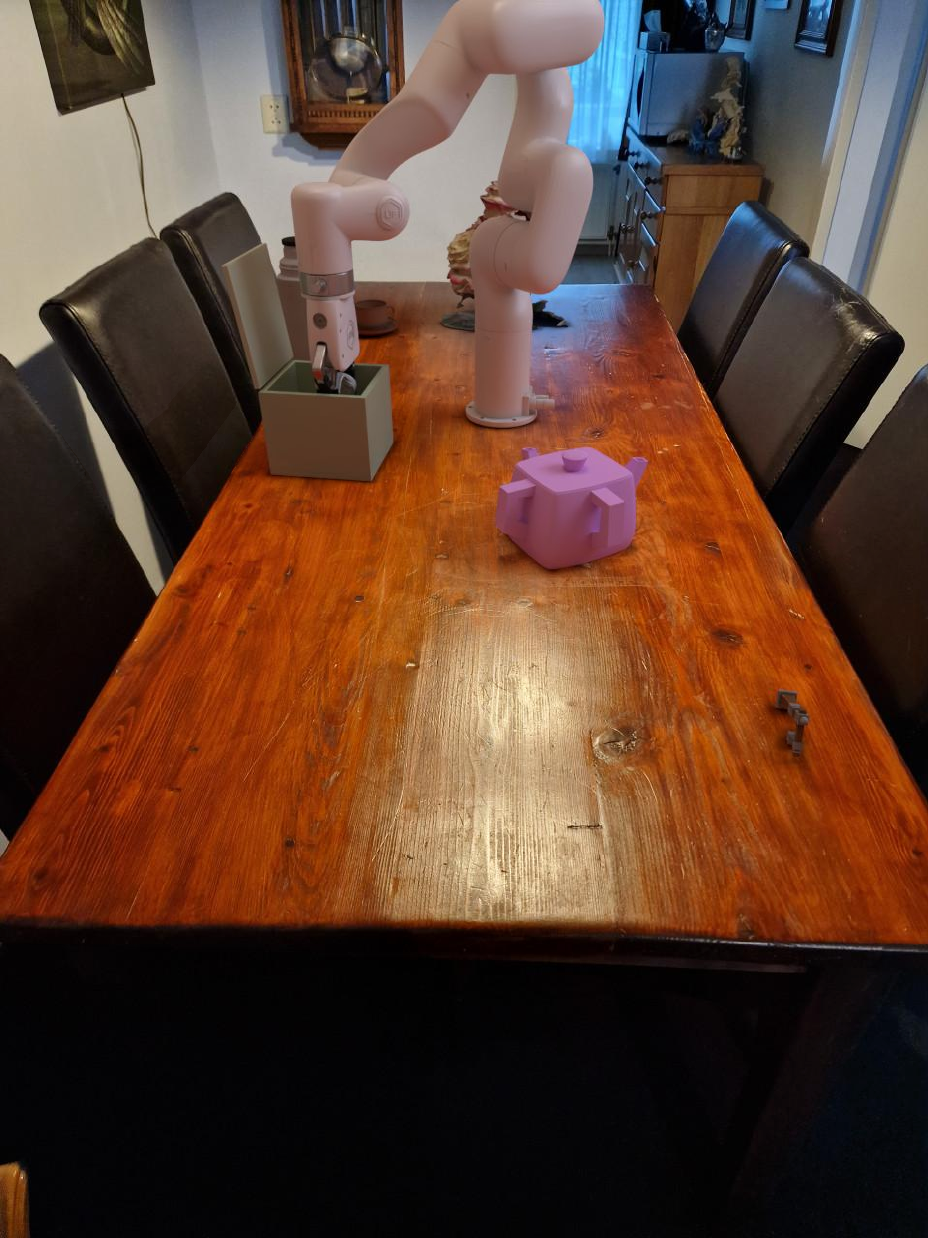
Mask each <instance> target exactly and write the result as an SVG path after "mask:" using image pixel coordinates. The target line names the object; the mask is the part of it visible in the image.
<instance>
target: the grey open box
mask: <svg viewBox="0 0 928 1238" xmlns="http://www.w3.org/2000/svg"><path fill="white" fill-rule="evenodd" d="M324 367H333V365H328V364H325V366H324ZM351 369H355V378H356V391H357V392H356V394H355V395H339V394H320V393H317V391H316V388H315V381H314V380H315V379H314V374H313V372H312V365H311V361H304V360H291V361H290V362H289V363H288V362H287V363H286V364H285V365H284V366H283V367H282V368H281V369H280V370H279V371H278V372H277V373H276V374H275V375H274V376H273V377H272V378H271V379H270V380H269V381H268V382H266V383H265V384H264V385H263V386H262V387H261V388H260V389H259V390H258V392H257V394H258V400H259V406H260V414H261V421H262V427H263V433H264V439H265V446H266V453H267V459H268V467H269V472H270V475H272V476H285V477H301V478H316V479H328V480H329V479H330V480H342V481H343V480H345V481H357V482H358V481H360V482H372V481H373V479H374V477H375V476H376V475H377V472H378V471H379V468H380V467H381V465H382V463H383V461H384V460H385V458H386V456H387V454H388V453H389V451H390V450H391V448H392V446H393V444H394V427H393V411H392V410H393V409H392V392H391V375H390V364H383V363H362V362H355V366H354V368H351ZM327 374H330V373H325V375H327Z"/></svg>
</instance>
